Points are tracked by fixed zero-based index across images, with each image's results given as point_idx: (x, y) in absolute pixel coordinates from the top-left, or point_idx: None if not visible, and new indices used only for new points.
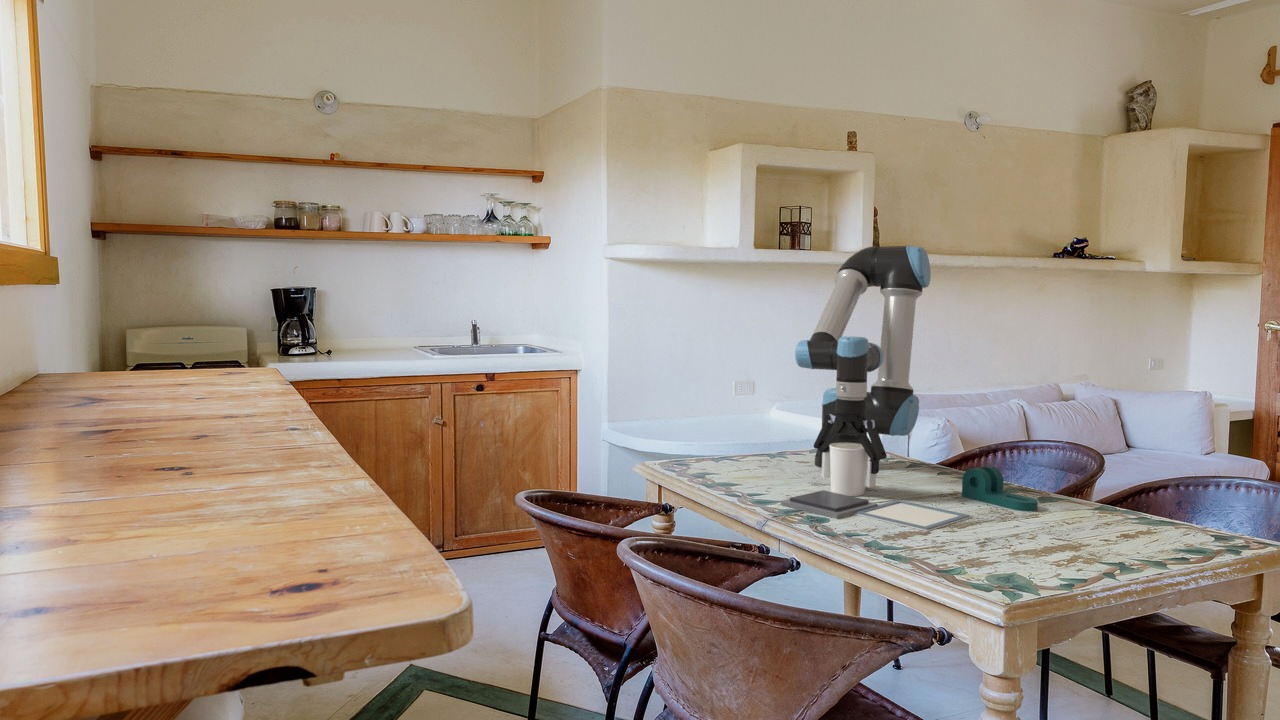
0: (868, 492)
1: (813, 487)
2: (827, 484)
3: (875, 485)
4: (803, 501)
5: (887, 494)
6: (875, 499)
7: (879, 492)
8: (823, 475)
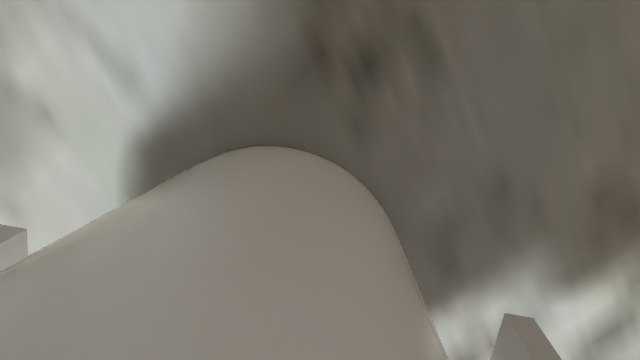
0: (395, 151)
1: None
2: (6, 105)
3: (535, 321)
4: None
5: (555, 111)
6: None
7: (471, 85)
8: None
